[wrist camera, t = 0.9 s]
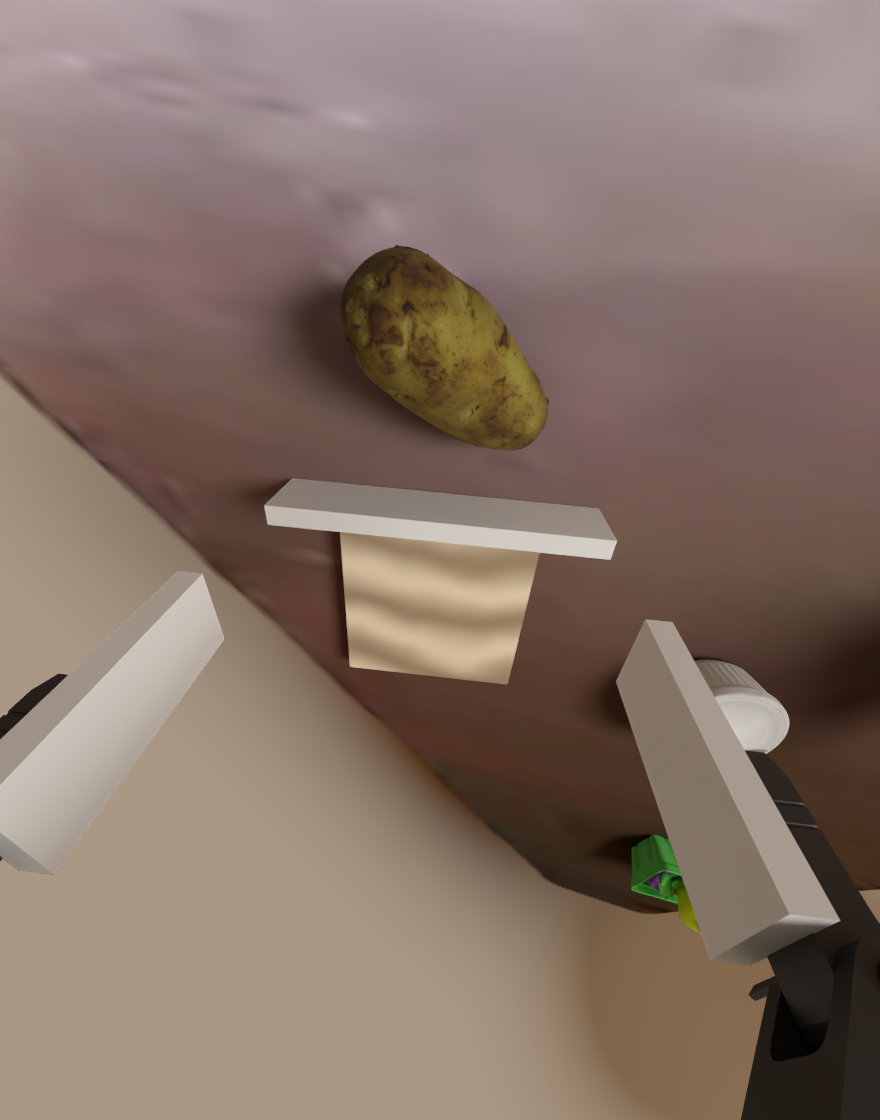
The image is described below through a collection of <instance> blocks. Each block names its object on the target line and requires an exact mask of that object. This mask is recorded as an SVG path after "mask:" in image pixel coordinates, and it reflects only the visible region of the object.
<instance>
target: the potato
mask: <svg viewBox="0 0 880 1120" xmlns="http://www.w3.org/2000/svg"><path fill="white" fill-rule="evenodd" d="M341 315H342V321H343V325H344V331H345V334H346V341H347V342H348V344H349V346H350V349H351V352H352V354H353V355H354V357H355V359H356V361H357V363H358V364H359V366H360V368H361V369H362V371H363V372H364V373H365V374H366V376H367V377H368V378H369V379H370V380H371V381H372V382H373V383H375V384H376V385H377V386H378V387H380V388H381V389H383V390H384V391H385V392H387V393H388V394H389V395H390V396H392V397H393V398H394V399H395V400H396V401H397V402H398V403H399V404H401V405H402V406H404V407H405V408H407V409H408V410H410V411H411V412H413V413H414V414H416V415H418V416H419V417H421V418H422V419H424V420H426V421H427V422H429V423H430V424H432V425H433V426H435V427H437V428H438V429H440V430H442V431H444V432H446V433H448V434H449V435H451V436H453V437H455V438H457V439H460V440H462V441H464V442H467V443H470V444H473V445H476V446H480V447H485V448H491V449H497V450H518V449H522V448H524V447H526V446H528V445H530V444H531V443H532V442H533V441H534V440H535V439H536V438H537V436H538V435H539V433H540V432H541V430H542V429H543V427H544V424H545V422H546V418H547V412H548V403H549V400H548V399H547V398H546V397H545V394H544V391H543V389H542V387H541V385H540V381H539V379H538V377H537V375H536V374H535V373H534V371H533V370H532V369H531V368H530V366H529V364H528V362H527V360H526V358H525V356H524V355H523V353H522V351H521V349H520V348H519V346H518V344H517V342H516V341H515V339H514V338H513V336H512V335H511V333H510V332H509V330H508V329H507V327H506V325H505V324H504V323H503V321H502V320H501V318H500V316H499V314H498V313H497V312H496V311H495V310H494V308H493V307H492V306H491V305H490V303H489V302H488V301H487V300H486V299H485V298H484V297H483V296H482V295H481V294H480V293H479V292H478V291H477V290H476V289H475V288H473V287H471V286H470V285H468V284H467V283H465V282H464V281H462V280H461V279H459V278H458V277H456V276H455V275H453V274H452V273H450V272H449V271H448V270H447V269H445V268H444V267H443V266H442V265H440V264H439V263H438V262H437V261H436V260H434V259H433V258H431V257H430V256H429V255H428V254H425V253H424V252H422V251H420V250H417V249H414V248H410V247H402V246H397V245H396V246H395V247H394V248H389V249H385V250H382V251H380V252H378V253H375V254H374V255H372V256H371V257H369V258H368V259H367V260H365V261H364V262H363V263H362V264H361V265H360V266H359V267H358V269H357V270H356V271H355V272H354V273H353V275H352V276H351V277H350V278H349V280H348V281H347V284H346V286H345V288H344V291H343V295H342V301H341Z"/></svg>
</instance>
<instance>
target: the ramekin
mask: <svg viewBox="0 0 880 1120" xmlns="http://www.w3.org/2000/svg"><path fill="white" fill-rule="evenodd" d="M695 663H696V665H697V667H698V669H699V670H700V672H701V674H702V676H703V677H704V679H705V681H706V683H707V685H708V686H709V688H710V690H711V692H712V693H713V695H714V697H715V699H716V701H717V702H718V704H719V706H720V708H721V709H722V711H723V713H724V715H725V717H726V718H727V720H728V722H729V724H730V725H731V727H732V729H733V731H734V733H735V734H736V736H737V738H738V740H739V741H740V743H741V745H742V747H743V748H744V750H747V751H755V752H764V753H765V754H766V753H768V752H770V751H771V750H772V749H774V748H775V747H776V746H777V745H778V744H780V743H781V741H782V740H783V739H784V738H785V736H786V734H787V732H788V729H789V723H790V722H789V717H788V714H787V712H786V710H785V709H784V707H783V706H782V705H781V703H780V702H779V701H778V700H777V699H776V698H775V697H773V696H772V695H770V694H768V693H767V692H766V691H765V690H764V689H763V688H762V687H761V686H760V685H759V684H758V683H757V682H756V681H755V680H754V679H753V678H752V677H751V676H750V675H749V674H748V673H747V672H746V671H744V670H743V669H741V668H740V667H738V666H735V665H733V664H730V663H727V662H723V661H718V660H695Z"/></svg>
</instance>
